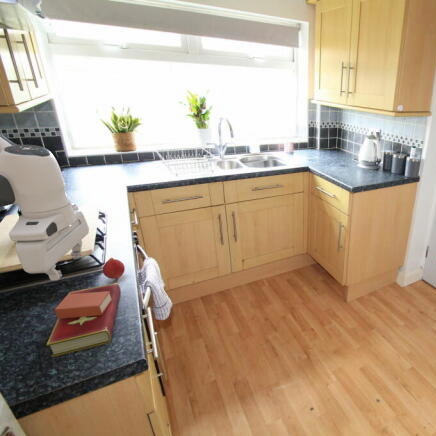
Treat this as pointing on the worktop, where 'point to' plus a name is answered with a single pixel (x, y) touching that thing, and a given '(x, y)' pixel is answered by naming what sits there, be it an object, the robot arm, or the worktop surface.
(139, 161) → the worktop surface
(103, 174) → the worktop surface
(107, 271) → the red round piece
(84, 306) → the pocket book
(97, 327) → the hardcover book
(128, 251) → the worktop surface
